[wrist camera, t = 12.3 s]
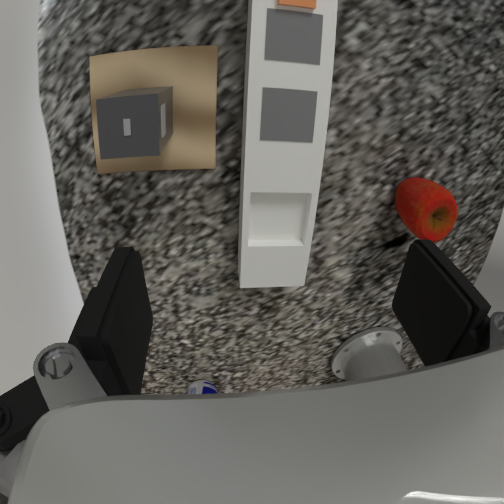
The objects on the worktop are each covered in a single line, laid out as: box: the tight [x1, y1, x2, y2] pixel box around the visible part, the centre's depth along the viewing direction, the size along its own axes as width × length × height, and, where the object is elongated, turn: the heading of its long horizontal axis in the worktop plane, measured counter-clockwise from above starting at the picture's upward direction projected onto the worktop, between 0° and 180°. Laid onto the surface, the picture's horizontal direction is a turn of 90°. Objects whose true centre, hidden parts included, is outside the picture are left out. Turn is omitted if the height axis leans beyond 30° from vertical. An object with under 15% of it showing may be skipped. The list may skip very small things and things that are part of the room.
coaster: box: [90, 46, 218, 174], centre depth 27 cm, size 12×12×1 cm
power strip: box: [238, 0, 338, 288], centre depth 26 cm, size 38×7×4 cm, turn 177°
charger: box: [96, 86, 173, 160], centre depth 23 cm, size 4×5×8 cm
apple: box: [395, 177, 458, 243], centre depth 32 cm, size 6×6×8 cm
